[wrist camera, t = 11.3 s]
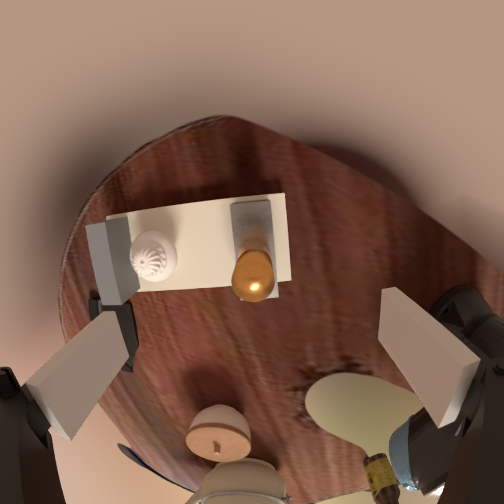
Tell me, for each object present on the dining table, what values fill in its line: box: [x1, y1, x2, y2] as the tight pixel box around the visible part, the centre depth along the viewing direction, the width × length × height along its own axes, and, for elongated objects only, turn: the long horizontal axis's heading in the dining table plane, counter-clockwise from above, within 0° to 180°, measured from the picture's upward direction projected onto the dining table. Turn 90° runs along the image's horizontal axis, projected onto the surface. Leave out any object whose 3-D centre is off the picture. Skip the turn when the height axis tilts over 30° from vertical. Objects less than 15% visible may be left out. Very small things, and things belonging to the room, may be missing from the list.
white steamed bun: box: [130, 231, 178, 282], centre depth 31 cm, size 6×6×7 cm
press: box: [86, 193, 291, 305], centre depth 32 cm, size 24×11×8 cm, turn 96°
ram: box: [230, 199, 279, 302], centre depth 26 cm, size 4×10×15 cm, turn 6°
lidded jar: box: [186, 405, 251, 462], centre depth 39 cm, size 11×11×9 cm
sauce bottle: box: [364, 453, 400, 504], centre depth 37 cm, size 6×6×20 cm
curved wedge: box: [89, 298, 139, 372], centre depth 40 cm, size 8×14×2 cm, turn 177°
